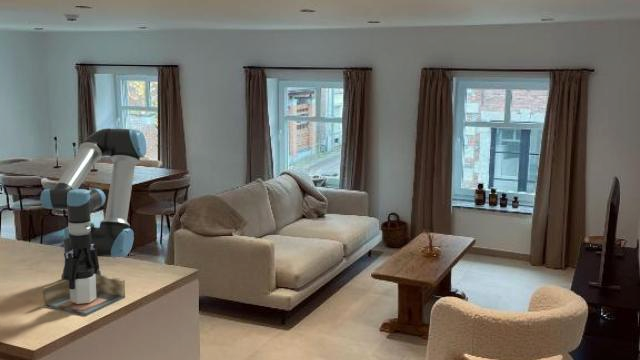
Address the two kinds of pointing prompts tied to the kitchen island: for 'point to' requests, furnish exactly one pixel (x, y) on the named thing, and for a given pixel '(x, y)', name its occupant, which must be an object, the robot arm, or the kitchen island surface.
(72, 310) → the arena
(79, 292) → the jar
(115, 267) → the kitchen island surface
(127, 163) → the robot arm
